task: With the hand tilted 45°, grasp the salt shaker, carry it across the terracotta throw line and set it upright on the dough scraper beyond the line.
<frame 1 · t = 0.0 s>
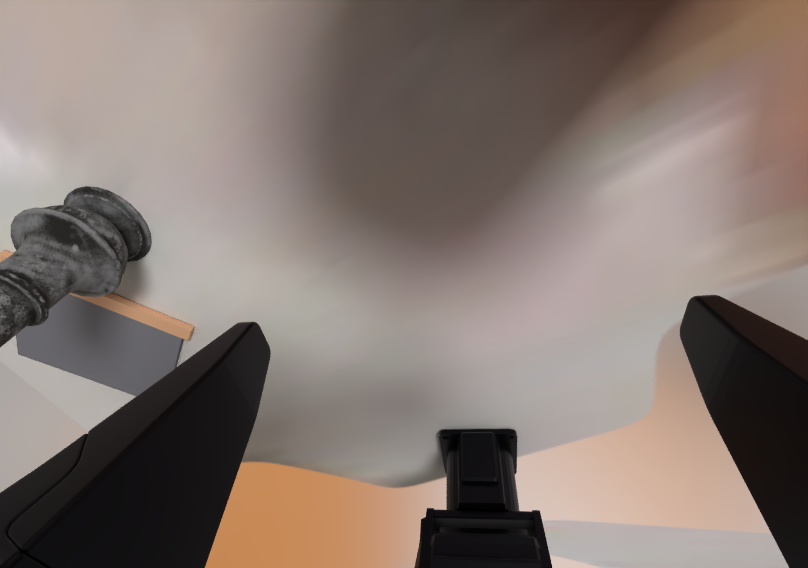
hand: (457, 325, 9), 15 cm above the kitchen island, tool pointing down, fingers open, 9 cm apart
dough scraper: (99, 342, 33), on the kitchen island
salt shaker: (110, 224, 26), on the kitchen island
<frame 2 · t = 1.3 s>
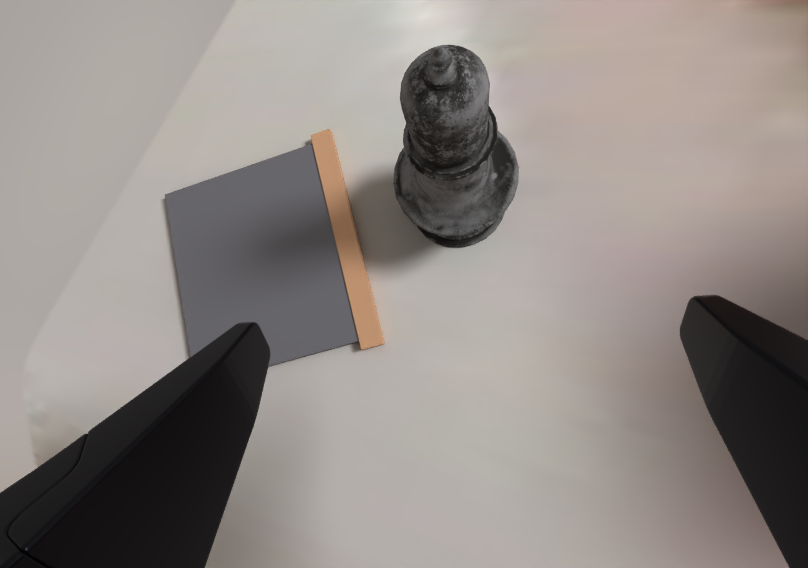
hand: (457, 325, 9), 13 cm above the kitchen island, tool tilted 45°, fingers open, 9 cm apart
dough scraper: (258, 263, 24), on the kitchen island
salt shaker: (457, 202, 23), on the kitchen island
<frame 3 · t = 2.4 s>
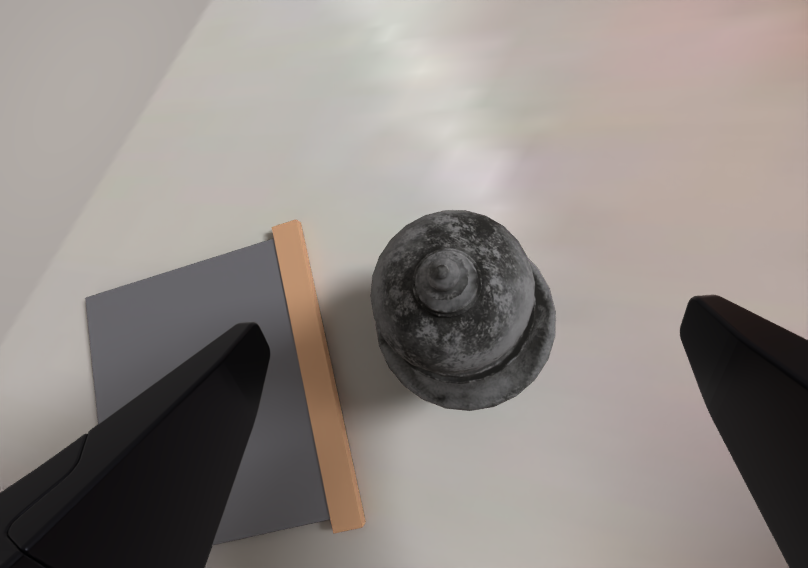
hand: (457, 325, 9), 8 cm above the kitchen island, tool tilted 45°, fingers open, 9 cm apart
dough scraper: (202, 396, 18), on the kitchen island
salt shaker: (465, 324, 17), on the kitchen island
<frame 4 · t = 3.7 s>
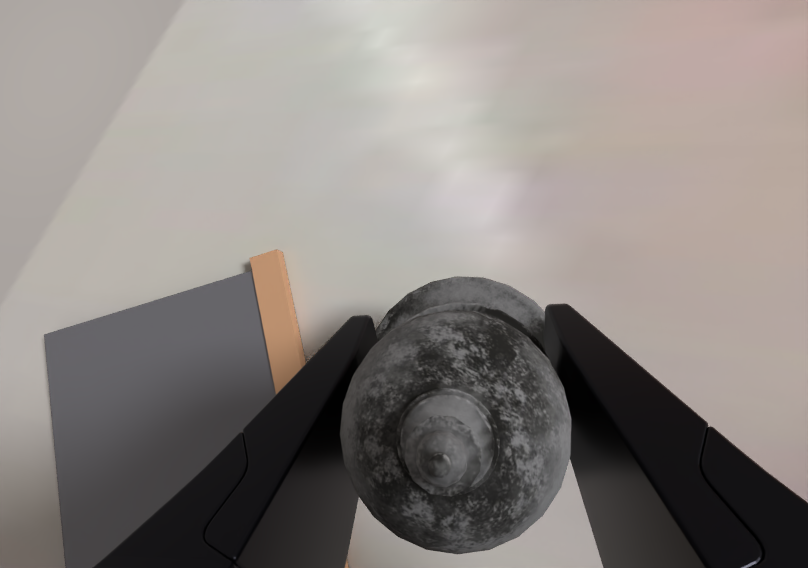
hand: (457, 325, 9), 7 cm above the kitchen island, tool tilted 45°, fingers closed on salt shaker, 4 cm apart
dough scraper: (172, 447, 16), on the kitchen island
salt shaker: (467, 371, 15), on the kitchen island, touching gripper
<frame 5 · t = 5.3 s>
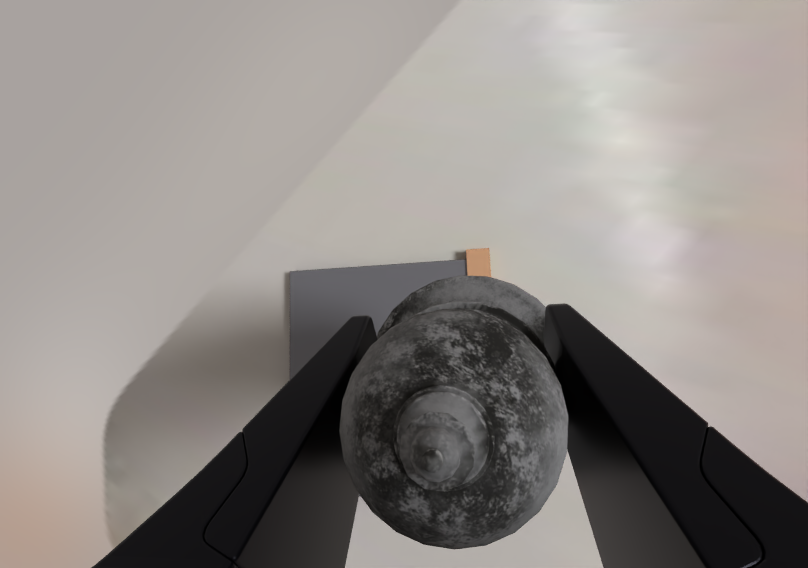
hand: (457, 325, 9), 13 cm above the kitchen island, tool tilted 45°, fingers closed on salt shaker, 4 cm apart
dough scraper: (379, 376, 22), on the kitchen island
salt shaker: (472, 369, 15), point 6 cm above the kitchen island, touching gripper
when the fingers open (8 cm above the kitchen island, at t = 7.3 s): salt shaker drops 1 cm, resting on dough scraper.
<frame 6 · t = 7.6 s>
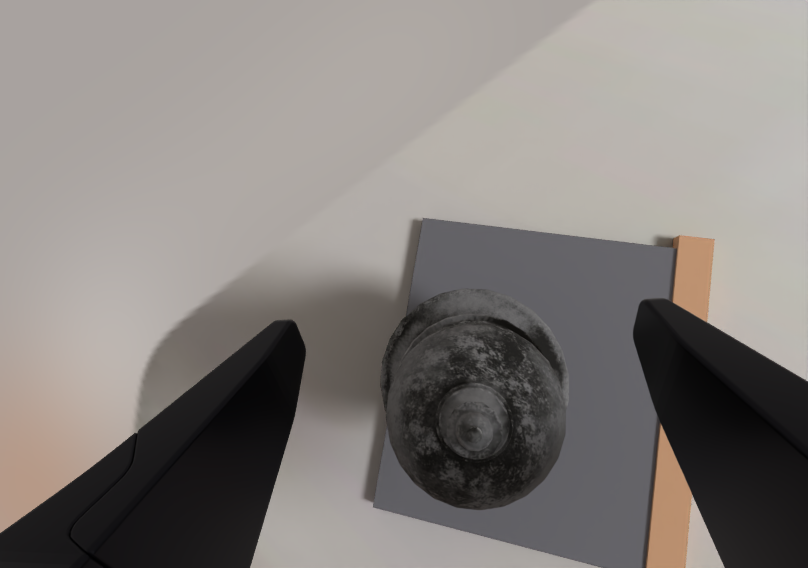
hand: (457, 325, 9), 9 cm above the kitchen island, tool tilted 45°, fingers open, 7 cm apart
dough scraper: (521, 379, 16), on the kitchen island
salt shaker: (471, 373, 17), resting on dough scraper
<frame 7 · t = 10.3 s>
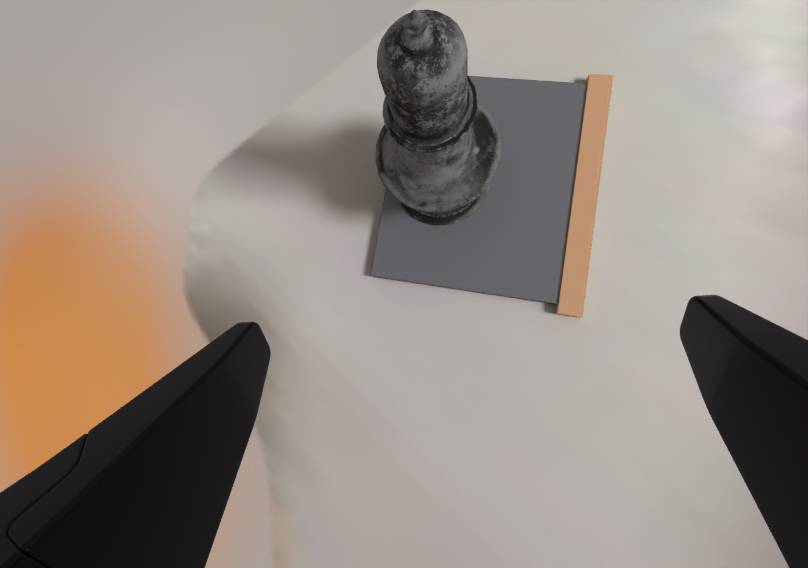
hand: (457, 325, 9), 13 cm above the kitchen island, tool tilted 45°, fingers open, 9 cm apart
dough scraper: (477, 183, 23), on the kitchen island
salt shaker: (441, 180, 23), resting on dough scraper
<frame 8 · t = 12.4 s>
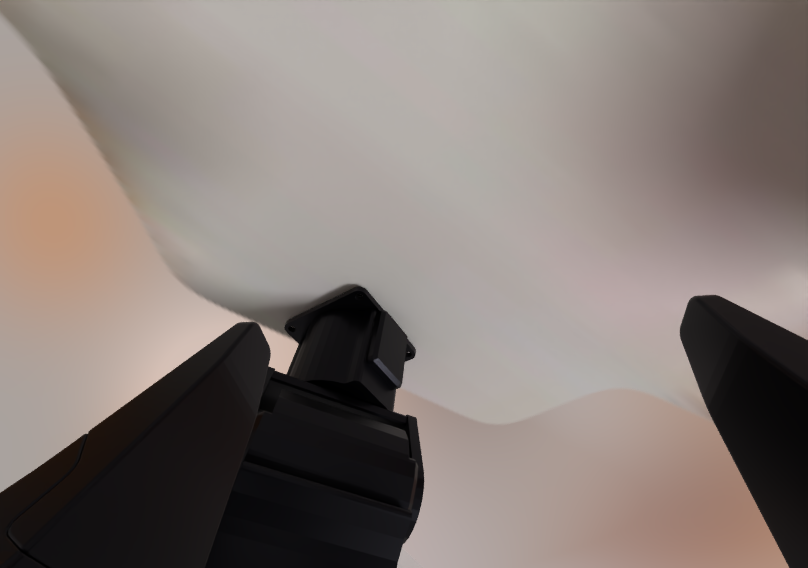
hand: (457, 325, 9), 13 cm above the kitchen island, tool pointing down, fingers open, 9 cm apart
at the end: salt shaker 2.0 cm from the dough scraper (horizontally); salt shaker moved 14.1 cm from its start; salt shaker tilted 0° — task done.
